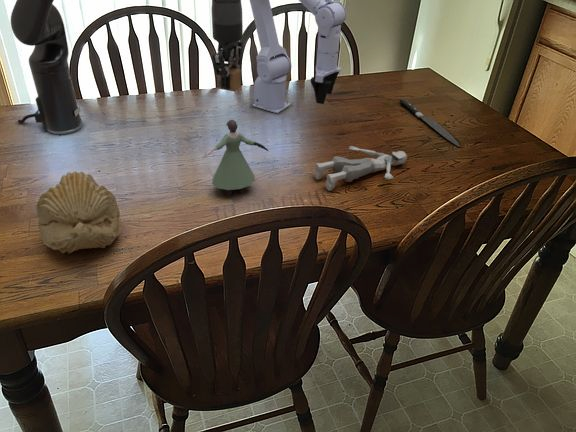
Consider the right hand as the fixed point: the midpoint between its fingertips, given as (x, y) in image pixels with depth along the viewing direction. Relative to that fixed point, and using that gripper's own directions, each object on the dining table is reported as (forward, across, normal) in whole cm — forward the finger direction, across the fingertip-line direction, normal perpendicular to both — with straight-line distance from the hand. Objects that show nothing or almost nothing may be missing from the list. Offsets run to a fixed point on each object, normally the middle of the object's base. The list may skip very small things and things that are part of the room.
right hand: (323, 98), depth 143 cm
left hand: (-6, -15, +22) cm, 28 cm away
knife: (+8, +15, -30) cm, 34 cm away
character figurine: (+8, -41, +9) cm, 43 cm away
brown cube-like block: (-5, -15, +22) cm, 28 cm away
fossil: (+8, -71, +29) cm, 77 cm away
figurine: (+8, -23, -18) cm, 30 cm away
